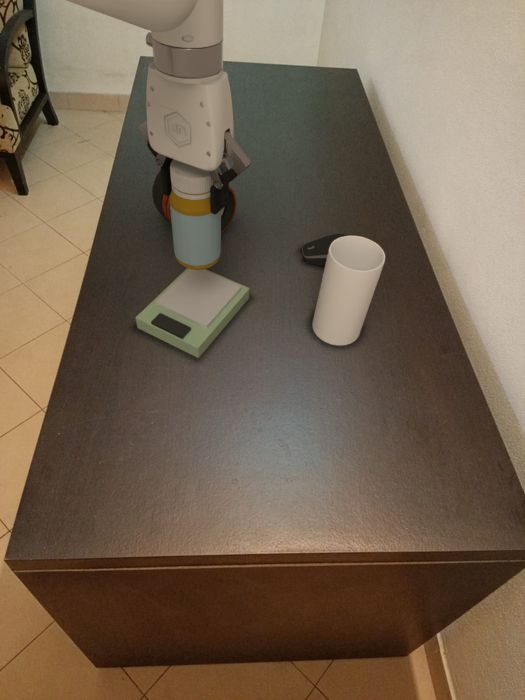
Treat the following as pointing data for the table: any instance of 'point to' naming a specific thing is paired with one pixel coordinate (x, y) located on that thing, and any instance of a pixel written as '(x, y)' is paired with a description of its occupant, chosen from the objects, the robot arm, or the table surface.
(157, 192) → the oil filter
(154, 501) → the table surface
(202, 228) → the bottle
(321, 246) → the computer mouse
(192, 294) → the scale
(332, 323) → the cup
